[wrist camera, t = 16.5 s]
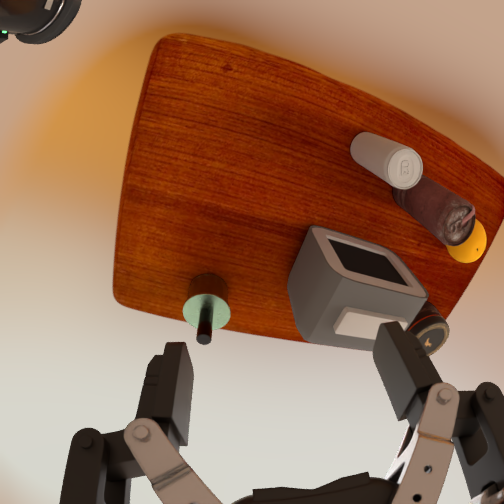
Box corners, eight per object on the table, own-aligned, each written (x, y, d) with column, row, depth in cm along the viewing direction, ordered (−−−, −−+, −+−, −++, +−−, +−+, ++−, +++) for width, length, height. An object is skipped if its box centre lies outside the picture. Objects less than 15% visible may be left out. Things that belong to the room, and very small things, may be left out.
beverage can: (349, 165, 41) (386, 192, 30) (347, 131, 38) (386, 147, 28) (379, 163, 40) (422, 189, 30) (379, 131, 38) (424, 147, 28)
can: (430, 182, 42) (485, 217, 30) (408, 213, 44) (457, 257, 32) (407, 160, 40) (463, 190, 28) (384, 193, 43) (433, 234, 30)
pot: (193, 305, 51) (189, 327, 46) (186, 275, 48) (181, 295, 43) (229, 303, 51) (229, 325, 46) (225, 272, 48) (224, 292, 43)
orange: (463, 250, 48) (485, 271, 42) (434, 250, 48) (456, 272, 41) (475, 211, 45) (500, 229, 38) (445, 208, 44) (471, 227, 38)
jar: (410, 340, 59) (424, 364, 52) (382, 327, 56) (396, 355, 49) (441, 306, 55) (458, 330, 48) (415, 290, 52) (433, 316, 45)
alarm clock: (393, 249, 47) (439, 306, 34) (363, 302, 52) (395, 367, 39) (305, 221, 44) (335, 282, 31) (279, 284, 49) (293, 356, 36)
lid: (188, 327, 47) (183, 357, 41) (179, 291, 43) (172, 321, 38) (232, 324, 47) (232, 355, 41) (227, 287, 44) (227, 318, 38)
